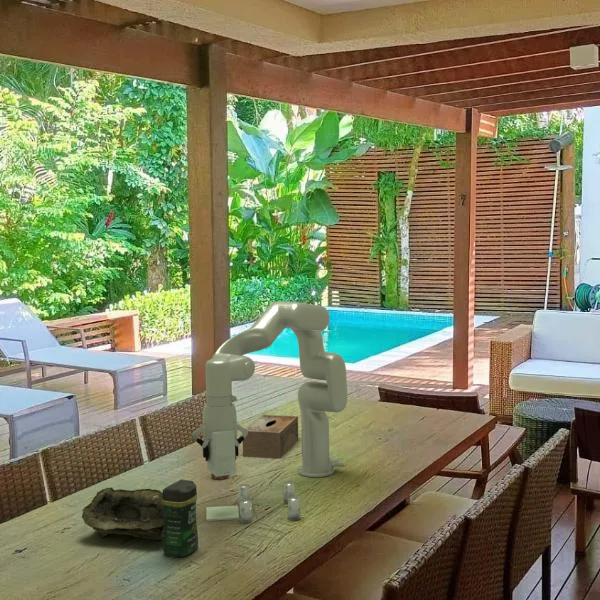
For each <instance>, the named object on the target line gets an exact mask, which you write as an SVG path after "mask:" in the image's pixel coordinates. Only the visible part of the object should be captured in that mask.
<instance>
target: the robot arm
mask: <svg viewBox="0 0 600 600" xmlns="http://www.w3.org/2000/svg"><path fill="white" fill-rule="evenodd" d="M330 317H331V316H330V312H329V311H328V309H327V308H326V307H325V306H322V305H319V304H318V305H317V304H312V303H311V304H310V303H305V302H300V301H299V302H298V301H283V300H279V301H278V300H277V301H273V302H271V303H270V304H269V305H268V306H267V308H266V309H264V311H263V312H262V313H261V314H260V316H259V317H258V318H257V319H256V321H254V323H253V324H252V325H251V326H250V327H249V328H247V329H246V330H243V331H241V332H240V333H238V334H235V335H234V336H233V337H232V336H231V337H230V338H229V339H227V340H225V341H224V342H223V343H222V344H221V345H220V346H219V348H218V349H217V350H216V352H214V353H213V355H212V357H211V358H210V359H208V360H207V361H206V362H205V367H204V368H205V369H204V370H205V394H206V396H205V398H206V404H204V405H203V411H202V425H201V426H199V427H198V428H196V430H194V431H193V432H192V433H191V437H192V438H193V439H194V440H195V441H196V443H197V444H198V445H200V447H201V448H202V458H205V462H207V461H208V446H207V444H208V442H209V440H211V439H212V432H215V431H235V461H236V460H237V457H239V446H240V444H241V443H243V440H244V438H245V437H246V436H247V434H248V430H246V429H245V428H246V427H243V426H242V425H240V424H239V423H238V418H237V417H238V416H237V410H236V405H235V403H234V402H236V401H238V396H235V395H232V394H233V388H232V382H244V381H246V380H249V379H250V378H252V376H253V375H254V373H255V371H256V365H255V362H254V361H253V359H252V358H251V357H249V356H246V355H247V354H250V353H253V352H254V353H255V352H259V351H262V350H265V349H268V348H270V347H271V346H272V344H273V343H274V342H275V341H276V340H277V338H278V337H279V336H280V335H281V334H282V332H283V331H284V330H285V329H290V330H291V331H292V332H293V333H294V335H295V337H296V340H297V344H298V345H297V346H298V356H299V359H298V360H299V367H300V373H301V375H302V376H303V377H304V378H306V379H310V380H311V381H307V382H303V383H302V384H301V385H300V386H299V388H298V392H297V400H298V405H299V409H300V418H301V419H300V421H301V466H299V467H298V468H297V473H298V474H299V475H301V476H303V477H308V478H323V477H327V476H328V477H329V476H331V475H333V474H334V472H335V467H336V468H337V467H340V468H341V467H344V460H340V459H332V458H331V457H330V421H329V417H328V415H327V413H326V412H329V413H341V412H342V411H344V410H345V409H346V407H347V403H348V385H347V384H348V381H347V369H346V367H347V366H346V362H345V360H344V359H343V357H342V355H340V354H339V353H335V352H329V351H326V350H325V347H324V339H323V334H322V332H323V331H324V330H326V329H327V328H328V327H329V324H330V321H331V320H330V319H331V318H330ZM312 379H313V380H312ZM315 380H321V381H326V382H321V381H315ZM238 431H239V432H240V433H241V435H240V436H238ZM201 433H202V436H203V439H202V438H201V437H200V436H199V434H201ZM237 436H238V438H237Z"/></svg>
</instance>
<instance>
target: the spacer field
mask: <svg viewBox="0 0 600 600" xmlns="http://www.w3.org/2000/svg"><path fill="white" fill-rule="evenodd" d="M282 485H283V503H284V504H285V505H287V519H288V520H289V521H294V522H295V521H299V520H300V519H301V503H300V501H301V500H300V497H299V496H296V484H295V482H294V481H285V482H283V484H282ZM250 488H251V487H250V484H247V483H241V484H239V485H237V493H238V494H237V495H238V497H237V498H238V501H237V503H238V507H239V522H240V523H241V524H250V523H252V522H253V501H252V499H251V491H250Z"/></svg>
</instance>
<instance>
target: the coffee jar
mask: <svg viewBox="0 0 600 600" xmlns="http://www.w3.org/2000/svg"><path fill="white" fill-rule="evenodd" d="M162 493H163V494H162V501H163V507H164V539H163V540H162V541H163V543H162V545H163V546H162V547H163V548H162V549H163V550H162V551H163V554H165V555H168V557H172V558H177V557H186V556H189V555H191V554H192V553H193V552H195V551H196V549H198V547H199V535H198V524H197V498H198V492H197V485H196V483H195V482H194V481H193V480H187V479H179V480H176V481H175V482H173V483H171V484H169V485H168V486H166V487H164V488H163V489H162Z"/></svg>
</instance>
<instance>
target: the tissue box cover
mask: <svg viewBox="0 0 600 600" xmlns="http://www.w3.org/2000/svg"><path fill="white" fill-rule="evenodd" d="M244 428H245V429H246V430H248V434H247V436H246V437H245V438H244V440H243V441H242V457H244V458H257V459H259V458H260V459H274V460H275V459H277V460H278V459H279V460H281V458H283V457H284V456H285V455H286V453H288V452H289V451H290V449H292V447H294V446H295V444H296V443H297V442H299V416H296V415H278V414H277V415H276V414H275V415H272V414H263V415H261V416H259V417H258V418H257V419H256V420H255V421H253V422H252V423H251V424H249V425H248V426H247V427H244Z"/></svg>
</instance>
